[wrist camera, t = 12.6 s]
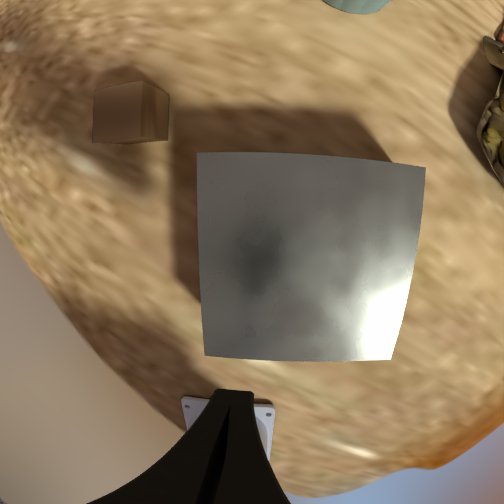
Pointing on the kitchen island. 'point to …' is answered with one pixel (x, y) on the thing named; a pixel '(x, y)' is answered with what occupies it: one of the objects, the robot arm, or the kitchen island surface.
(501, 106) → the crumpled patterned cloth
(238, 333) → the shiny gray metal block
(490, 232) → the kitchen island surface
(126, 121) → the brown cardboard cube
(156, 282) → the kitchen island surface
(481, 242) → the kitchen island surface
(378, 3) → the cup
